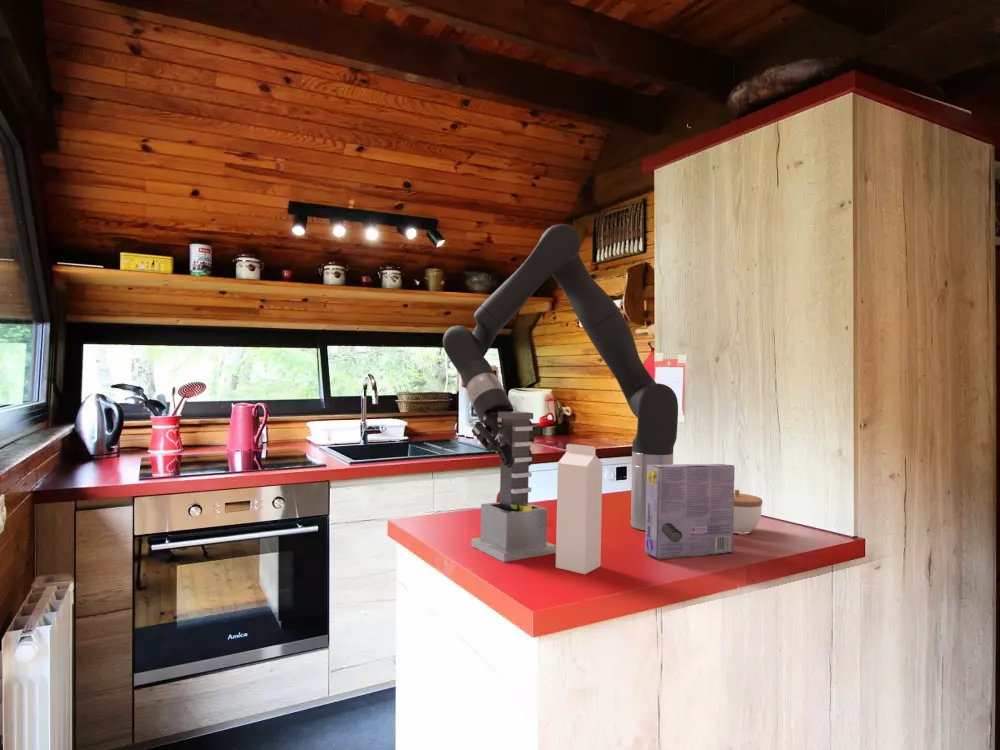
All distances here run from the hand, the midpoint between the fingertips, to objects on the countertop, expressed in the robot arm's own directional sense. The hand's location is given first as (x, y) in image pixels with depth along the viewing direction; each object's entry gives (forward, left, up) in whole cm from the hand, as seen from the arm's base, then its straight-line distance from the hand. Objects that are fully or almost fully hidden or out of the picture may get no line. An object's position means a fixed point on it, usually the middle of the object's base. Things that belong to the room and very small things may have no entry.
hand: (520, 463), depth 118 cm
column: (+1, -1, -9) cm, 9 cm away
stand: (+1, -1, -17) cm, 17 cm away
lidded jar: (-47, -27, -17) cm, 57 cm away
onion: (+6, -30, -17) cm, 36 cm away
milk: (-12, +7, -17) cm, 22 cm away
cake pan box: (-34, -7, -17) cm, 38 cm away
